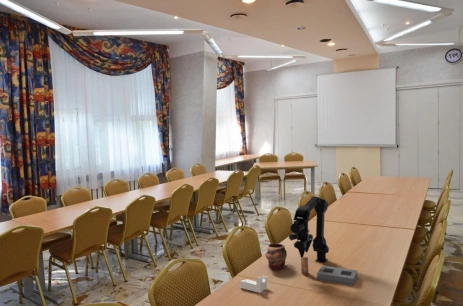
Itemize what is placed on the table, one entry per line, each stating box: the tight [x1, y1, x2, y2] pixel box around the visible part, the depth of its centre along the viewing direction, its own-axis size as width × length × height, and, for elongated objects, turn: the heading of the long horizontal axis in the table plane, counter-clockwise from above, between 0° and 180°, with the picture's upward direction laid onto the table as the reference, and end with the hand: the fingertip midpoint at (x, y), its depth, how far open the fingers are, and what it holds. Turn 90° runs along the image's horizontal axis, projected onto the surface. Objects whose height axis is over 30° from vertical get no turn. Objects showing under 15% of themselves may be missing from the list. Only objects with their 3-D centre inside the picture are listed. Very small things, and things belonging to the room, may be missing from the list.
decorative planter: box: [265, 242, 288, 271], centre depth 222 cm, size 20×12×14 cm, turn 150°
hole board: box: [316, 265, 358, 287], centre depth 200 cm, size 12×20×4 cm, turn 61°
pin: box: [300, 255, 309, 276], centre depth 209 cm, size 4×4×10 cm
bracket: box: [239, 275, 268, 294], centre depth 194 cm, size 13×7×8 cm, turn 56°
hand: (304, 254), depth 209 cm, fingers open, 9 cm apart
